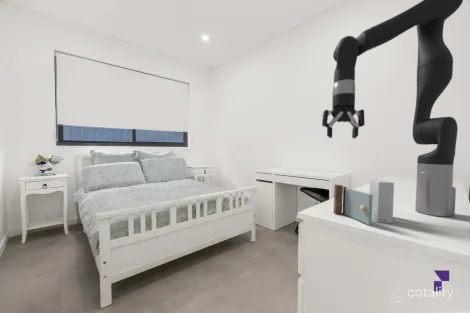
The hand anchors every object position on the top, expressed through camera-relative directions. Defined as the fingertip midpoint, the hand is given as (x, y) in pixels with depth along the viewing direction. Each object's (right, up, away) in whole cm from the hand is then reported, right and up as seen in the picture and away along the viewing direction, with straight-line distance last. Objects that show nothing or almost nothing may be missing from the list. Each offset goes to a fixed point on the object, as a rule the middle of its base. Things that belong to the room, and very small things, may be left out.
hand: (342, 137), depth 80 cm
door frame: (+1, -26, -10) cm, 28 cm away
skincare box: (+5, -27, -14) cm, 31 cm away
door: (-3, -26, -15) cm, 30 cm away
